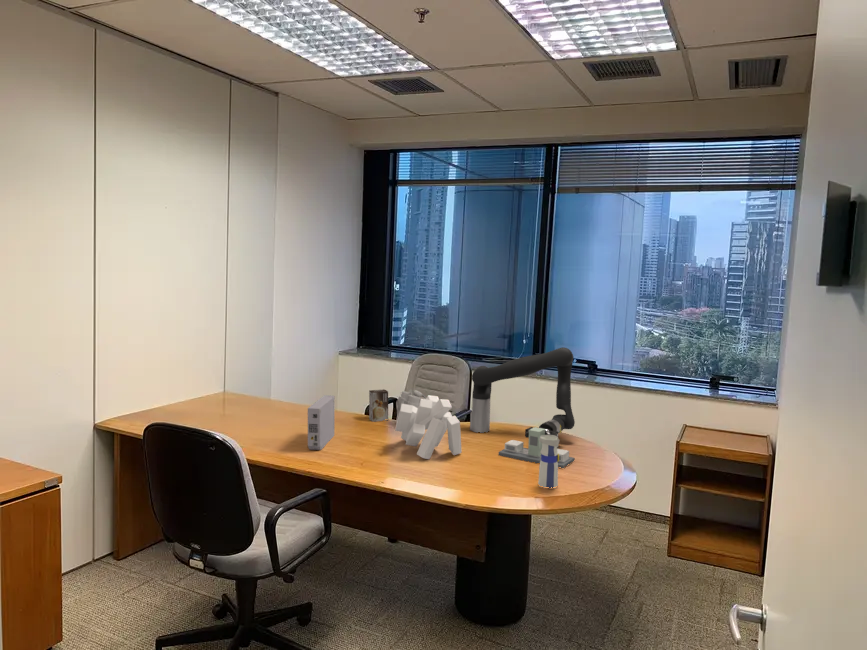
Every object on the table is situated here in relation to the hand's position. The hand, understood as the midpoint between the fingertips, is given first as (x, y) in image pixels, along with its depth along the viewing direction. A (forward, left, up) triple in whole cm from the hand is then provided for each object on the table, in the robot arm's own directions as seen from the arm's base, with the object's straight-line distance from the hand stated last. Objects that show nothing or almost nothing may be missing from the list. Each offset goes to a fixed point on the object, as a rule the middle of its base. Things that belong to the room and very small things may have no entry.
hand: (535, 437), depth 279 cm
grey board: (0, +2, -10) cm, 10 cm away
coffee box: (-97, +11, -10) cm, 98 cm away
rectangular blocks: (0, +2, -8) cm, 8 cm away
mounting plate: (0, +2, -9) cm, 9 cm away
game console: (-92, -38, -10) cm, 100 cm away
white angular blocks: (-45, -19, -10) cm, 50 cm away
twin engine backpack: (-74, +14, -10) cm, 76 cm away
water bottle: (+18, -26, -10) cm, 33 cm away
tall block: (0, +2, -8) cm, 8 cm away
